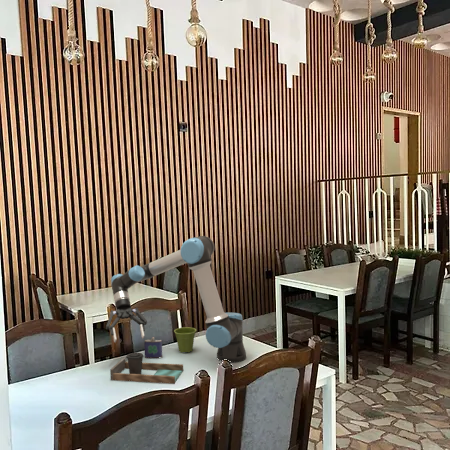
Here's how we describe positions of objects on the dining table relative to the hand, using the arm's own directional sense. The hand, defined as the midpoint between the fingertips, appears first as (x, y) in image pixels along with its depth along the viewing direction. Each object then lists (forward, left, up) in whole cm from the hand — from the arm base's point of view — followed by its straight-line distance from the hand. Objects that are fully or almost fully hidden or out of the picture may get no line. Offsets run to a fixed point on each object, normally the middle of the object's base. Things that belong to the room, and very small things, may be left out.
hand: (129, 339), depth 242 cm
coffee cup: (-6, +9, -14) cm, 18 cm away
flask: (-7, -15, -14) cm, 22 cm away
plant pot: (-21, -27, -14) cm, 37 cm away
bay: (-12, +9, -14) cm, 20 cm away
